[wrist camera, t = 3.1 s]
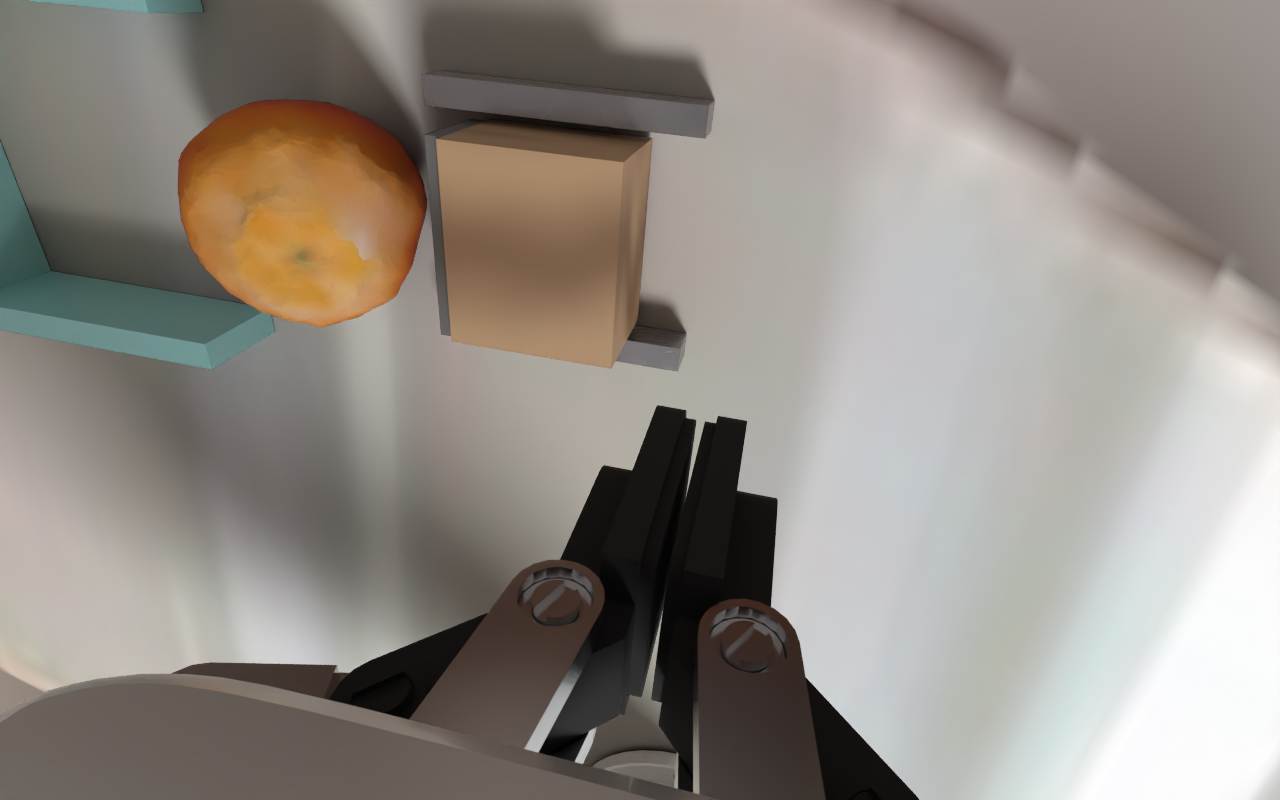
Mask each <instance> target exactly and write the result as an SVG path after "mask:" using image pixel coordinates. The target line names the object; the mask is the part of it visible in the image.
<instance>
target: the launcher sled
mask: <svg viewBox="0 0 1280 800" xmlns="http://www.w3.org/2000/svg"><path fill="white" fill-rule="evenodd" d="M424 138H425V150H426V162H427V174H428V186H429V197H430V209H431V221H432V233H433V245H434V257H435V268H436V280H437V292H438V304H439V316H440V327H441V334H442V335H448V336H451V341H452V342H458V343H463V344H469V345H475V346H481V347H487V348H493V349H499V350H504V351H510V352H516V353H522V354H528V355H534V356H540V357H545V358H551V359H557V360H563V361H569V362H575V363H581V364H586V365H592V366H598V367H604V368H610V369H611V368H612V366H613V364H614V362H615V361H616V359H617V357H618V355H619V353H620V351H621V350H622V348H623V346H624V344H625V342H626V341H627V339H628V337H629V335H630V333H631V331H632V330H633V328H634V326H635V324H636V322H637V320H638V312H639V299H640V287H641V274H642V262H643V249H644V237H645V224H646V212H647V199H648V187H649V174H650V162H651V149H652V138H646V137H638V136H629V135H621V134H612V133H604V132H596V131H587V130H579V129H570V128H562V127H554V126H545V125H537V124H528V123H520V122H512V121H503V120H495V119H491V120H488V121H486V120H477V119H470V120H467V121H464V122H461V123H458V124H455V125H452V126H449V127H446V128H443V129H440V130H437V131H434V132H431V133H428V134H425V135H424Z"/></svg>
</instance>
